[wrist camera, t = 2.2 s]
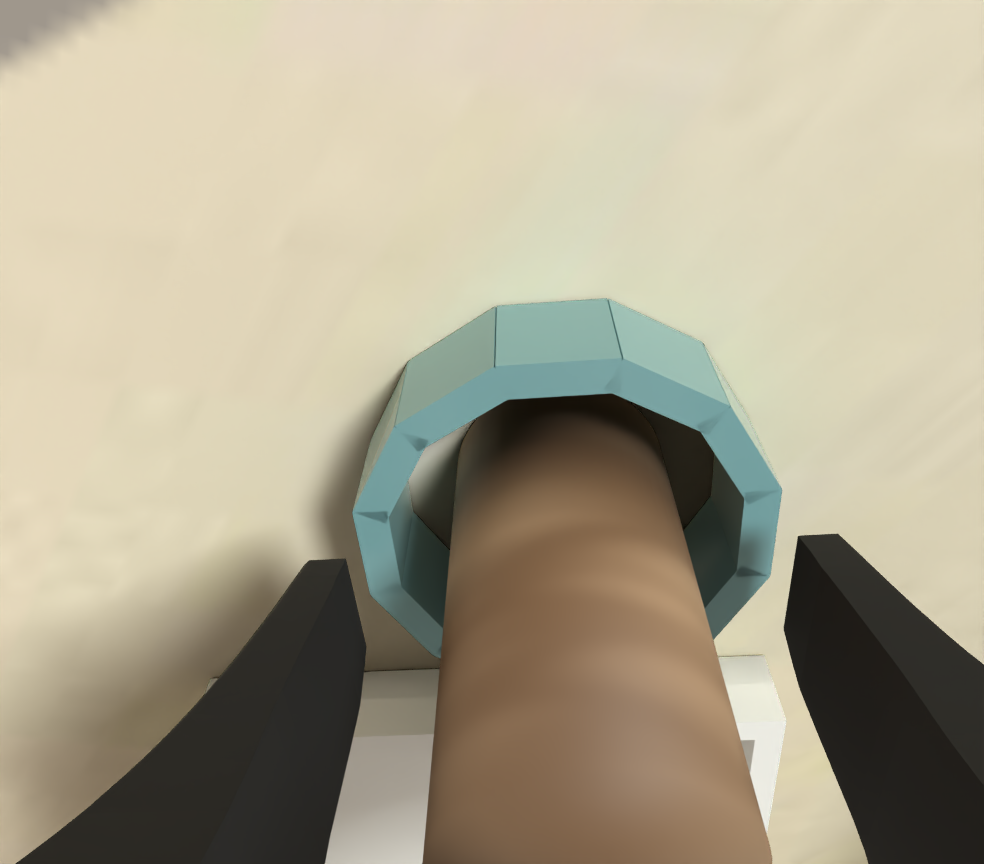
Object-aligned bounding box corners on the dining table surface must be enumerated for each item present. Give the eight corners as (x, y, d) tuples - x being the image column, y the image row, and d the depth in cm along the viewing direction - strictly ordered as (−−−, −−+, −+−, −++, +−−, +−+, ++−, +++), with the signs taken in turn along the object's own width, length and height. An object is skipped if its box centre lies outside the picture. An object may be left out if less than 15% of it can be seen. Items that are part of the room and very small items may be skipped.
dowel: (664, 375, 15) (791, 763, 8) (658, 543, 17) (755, 957, 10) (446, 388, 15) (399, 777, 9) (467, 552, 17) (442, 964, 11)
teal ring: (763, 287, 14) (801, 346, 12) (730, 596, 18) (756, 676, 16) (346, 316, 14) (322, 377, 13) (403, 611, 18) (391, 691, 16)
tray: (764, 655, 19) (786, 720, 17) (728, 907, 25) (742, 972, 23) (210, 678, 20) (185, 743, 18) (303, 918, 26) (291, 982, 24)
